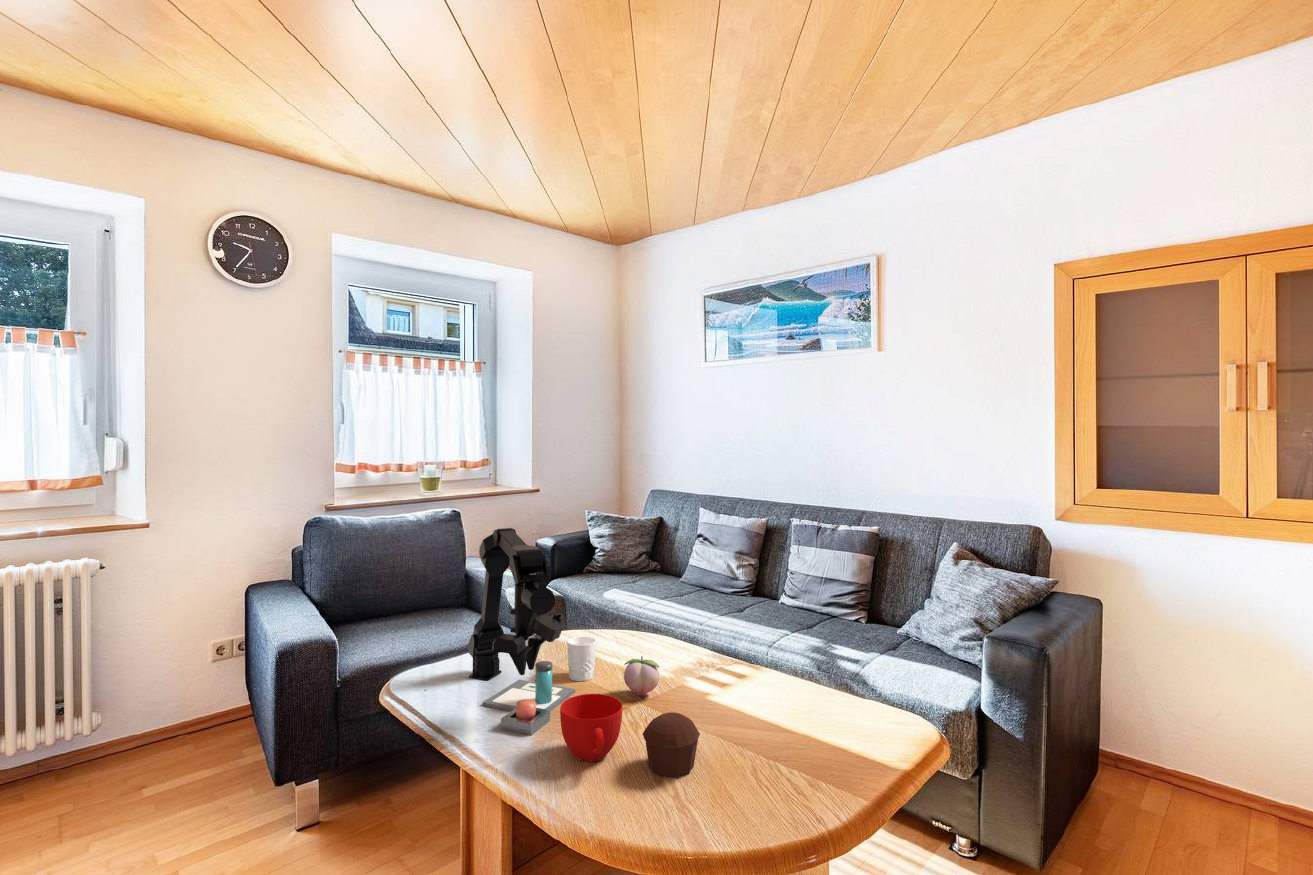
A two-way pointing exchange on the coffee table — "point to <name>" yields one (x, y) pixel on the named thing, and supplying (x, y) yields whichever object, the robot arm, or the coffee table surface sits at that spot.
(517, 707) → the button
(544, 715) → the button housing
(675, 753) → the muffin
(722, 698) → the coffee table surface
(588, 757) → the ceramic cup
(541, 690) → the marker
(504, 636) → the robot arm
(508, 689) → the drawing board
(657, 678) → the decorative fruit
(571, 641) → the white cup
